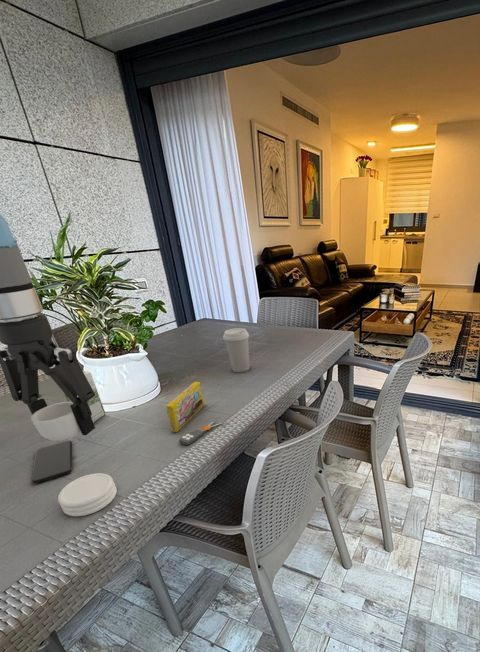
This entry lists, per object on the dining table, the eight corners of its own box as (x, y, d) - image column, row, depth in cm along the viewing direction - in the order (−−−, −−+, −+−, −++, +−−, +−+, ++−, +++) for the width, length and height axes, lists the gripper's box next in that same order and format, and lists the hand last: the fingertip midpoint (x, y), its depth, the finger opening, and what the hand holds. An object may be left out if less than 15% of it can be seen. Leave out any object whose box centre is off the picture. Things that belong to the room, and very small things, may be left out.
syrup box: (90, 413, 109) (73, 369, 102) (107, 414, 108) (90, 370, 101) (75, 422, 104) (56, 377, 97) (92, 424, 103) (74, 378, 96)
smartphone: (37, 451, 91) (32, 485, 79) (35, 449, 91) (30, 482, 79) (72, 442, 95) (73, 472, 83) (71, 439, 94) (71, 469, 82)
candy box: (178, 432, 97) (171, 406, 93) (171, 432, 97) (164, 406, 93) (205, 405, 111) (200, 381, 107) (198, 404, 111) (193, 381, 107)
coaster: (54, 521, 70) (46, 507, 68) (76, 487, 78) (70, 475, 76) (107, 513, 71) (101, 500, 69) (123, 481, 79) (119, 469, 78)
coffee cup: (231, 375, 131) (224, 336, 124) (226, 367, 139) (219, 329, 132) (256, 370, 134) (251, 332, 127) (250, 362, 142) (245, 326, 135)
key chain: (188, 446, 91) (187, 441, 90) (178, 442, 93) (177, 438, 92) (224, 423, 101) (223, 419, 100) (214, 420, 102) (213, 416, 102)
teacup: (70, 446, 66) (58, 422, 63) (32, 445, 66) (19, 421, 64) (103, 419, 74) (94, 396, 72) (70, 419, 75) (60, 396, 73)
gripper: (89, 310, 61) (128, 422, 73) (-16, 312, 64) (37, 420, 75) (57, 322, 55) (105, 443, 66) (-59, 323, 57) (7, 440, 68)
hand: (69, 430), depth 70 cm, fingers closed on teacup, 8 cm apart
